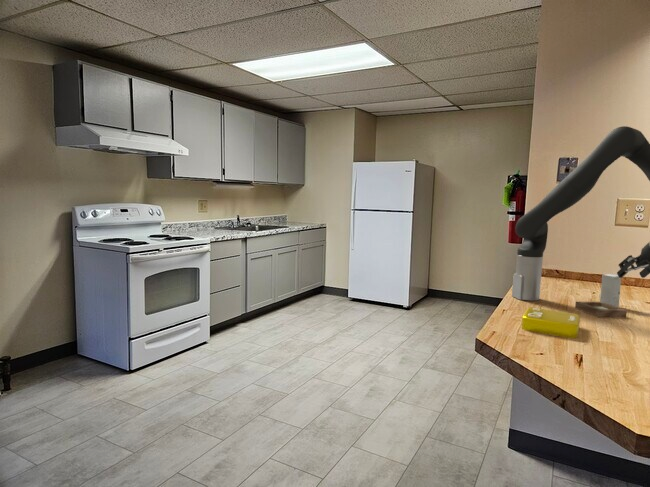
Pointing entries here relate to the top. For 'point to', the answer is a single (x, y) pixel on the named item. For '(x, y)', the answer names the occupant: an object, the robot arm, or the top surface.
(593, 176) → the robot arm
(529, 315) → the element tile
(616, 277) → the skincare box
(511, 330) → the top surface
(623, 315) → the seat block
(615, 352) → the top surface
